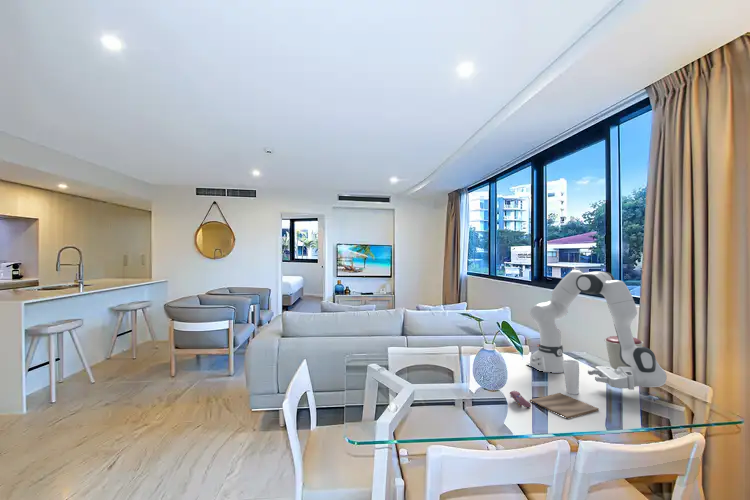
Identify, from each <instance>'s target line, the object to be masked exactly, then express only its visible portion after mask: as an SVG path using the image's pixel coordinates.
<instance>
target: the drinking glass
mask: <svg viewBox="0 0 750 500" xmlns="http://www.w3.org/2000/svg"><path fill="white" fill-rule="evenodd" d="M563 370H564V372H563V375H564V381H565V390H566V393H567V394H569V395H573V396H575V395H579V393H580V363H579V361H577V360H573V359H564V361H563Z"/></svg>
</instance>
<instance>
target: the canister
mask: <svg viewBox="0 0 750 500" xmlns="http://www.w3.org/2000/svg"><path fill="white" fill-rule="evenodd" d="M633 339H634V343H635V345H636V346H637V347H643V345H644V341H643V340H641V339H639V338H638V337H633ZM604 342H605V345H606V350H607V351H606V352H607V355H608V356H607V357H608V360H609V365H610V367H612V368H614V369H617V368H618V367H628V366H626V365H625V364H624V363H623V362H622V361H621V359H620V344H619V340H618V337H617V335H612V336H607V337H606V338H604Z"/></svg>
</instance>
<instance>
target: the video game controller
mask: <svg viewBox="0 0 750 500" xmlns="http://www.w3.org/2000/svg"><path fill="white" fill-rule="evenodd" d="M509 396H510V398H512V399H513V401H514V402H515V403H516V402H517V403H516V404H517V405H518V406H520V407H525V408H526V407H530V408H531V407H532V405H531V404H532V403H531V402H530V401H528V400H526V399H525V398H524V397H523V395H521V393H520V392H519V391H516V390H512V391H510V392H509Z"/></svg>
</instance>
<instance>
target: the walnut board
mask: <svg viewBox="0 0 750 500" xmlns="http://www.w3.org/2000/svg"><path fill="white" fill-rule="evenodd" d="M530 401H532V402H534V403H537V404H538V405H540V406H542V407H544V408H546V409H547V411H548V410H550V411H549V412H551V411H552V412H551V413H553V412H555V413H557V414H559V415H562V416H564V417H566V418H570V419H572V418H571V417H573V418H577V417H580V416H581V417H582V416H584V415H585V416H586V415H588V414H591V413H595V412H600V411H599V410H600V409H599V407H597V406H594V405H591V404H589V403H587V402H584V401H581V400H579V399H577V398H574V397H572V396H569V395H566V394H564V393H561V392H557V393H552V394H549V395H545V396H540V397H536V398H531V399H529V402H530ZM534 403H533V404H534ZM538 405H537V406H538ZM540 406H539V407H540ZM542 407H541V408H542ZM544 408H543V409H544ZM546 409H545V410H546ZM555 413H554V414H555ZM557 414H556V415H557ZM559 415H558V416H559Z"/></svg>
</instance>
